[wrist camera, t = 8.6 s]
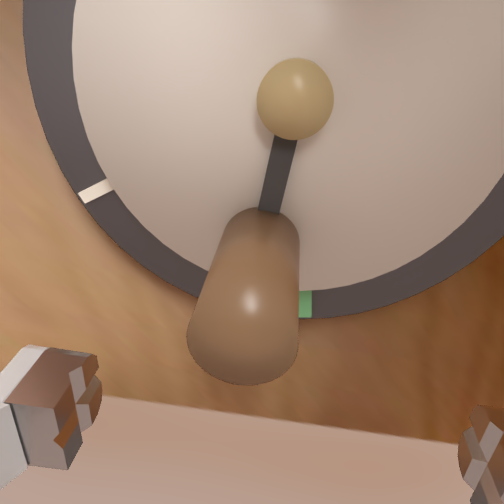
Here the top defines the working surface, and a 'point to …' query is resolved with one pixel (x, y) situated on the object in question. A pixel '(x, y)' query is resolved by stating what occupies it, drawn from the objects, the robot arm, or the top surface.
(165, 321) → the top surface
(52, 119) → the dial base
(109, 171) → the dial
